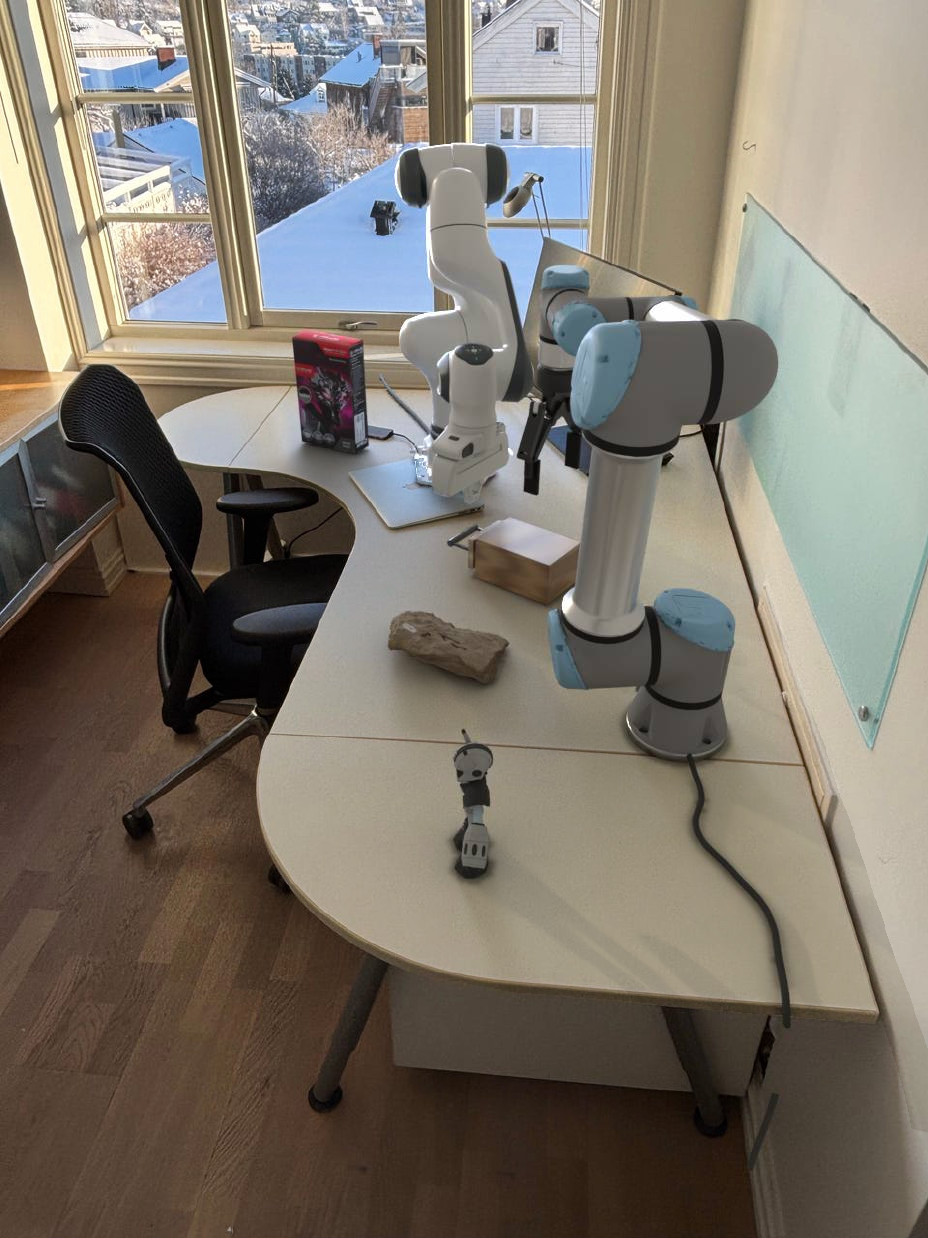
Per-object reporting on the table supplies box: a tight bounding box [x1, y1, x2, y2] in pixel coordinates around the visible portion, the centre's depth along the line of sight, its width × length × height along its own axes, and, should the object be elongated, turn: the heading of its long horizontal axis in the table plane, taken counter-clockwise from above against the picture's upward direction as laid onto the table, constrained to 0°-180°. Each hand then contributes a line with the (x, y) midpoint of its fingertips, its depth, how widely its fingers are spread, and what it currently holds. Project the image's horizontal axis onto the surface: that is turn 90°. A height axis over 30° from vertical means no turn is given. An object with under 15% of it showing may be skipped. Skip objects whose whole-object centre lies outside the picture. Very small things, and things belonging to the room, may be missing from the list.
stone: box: [387, 610, 510, 685], centre depth 156 cm, size 21×15×6 cm
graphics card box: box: [291, 329, 370, 455], centre depth 226 cm, size 17×7×27 cm, turn 62°
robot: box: [452, 728, 494, 879], centre depth 116 cm, size 20×5×20 cm, turn 3°
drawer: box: [446, 519, 503, 570], centre depth 181 cm, size 21×10×6 cm, turn 53°
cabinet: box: [474, 516, 581, 606], centre depth 178 cm, size 17×11×9 cm
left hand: (471, 500), depth 180 cm, fingers closed
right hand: (551, 479), depth 166 cm, fingers open, 13 cm apart
